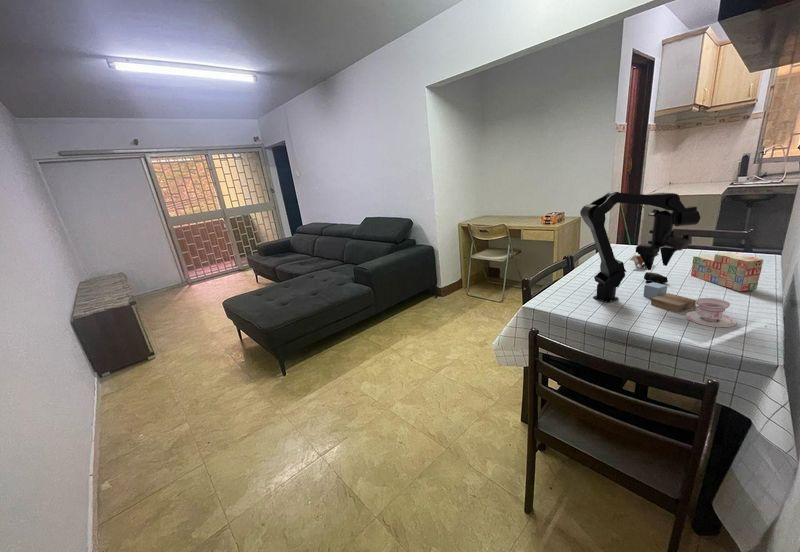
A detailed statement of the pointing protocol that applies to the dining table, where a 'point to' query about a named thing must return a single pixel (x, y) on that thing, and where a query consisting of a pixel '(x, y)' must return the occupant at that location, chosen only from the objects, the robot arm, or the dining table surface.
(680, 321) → the dining table surface
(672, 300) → the walnut block
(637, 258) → the bull figurine
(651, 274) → the tape measure
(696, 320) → the teacup
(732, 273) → the stack of blocks
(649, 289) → the slate cube
